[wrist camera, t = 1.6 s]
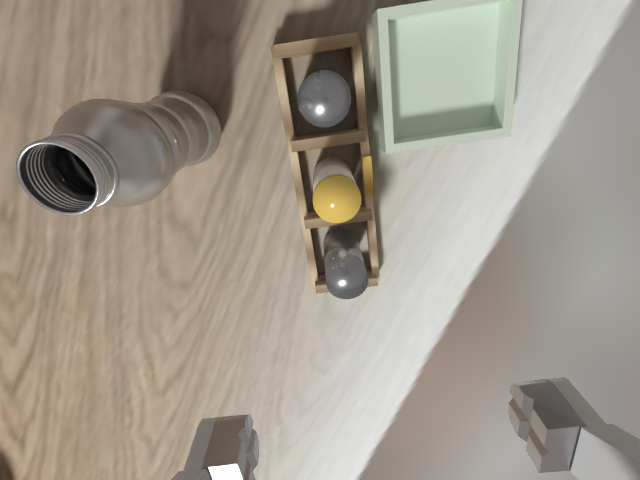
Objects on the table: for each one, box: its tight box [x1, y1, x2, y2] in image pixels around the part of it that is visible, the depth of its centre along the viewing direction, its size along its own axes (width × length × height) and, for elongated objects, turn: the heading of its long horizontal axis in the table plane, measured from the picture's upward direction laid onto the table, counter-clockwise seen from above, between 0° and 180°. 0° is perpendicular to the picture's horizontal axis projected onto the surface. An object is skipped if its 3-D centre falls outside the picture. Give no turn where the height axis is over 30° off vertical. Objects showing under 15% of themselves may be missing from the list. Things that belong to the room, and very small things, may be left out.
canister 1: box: [298, 70, 351, 127], centre depth 30 cm, size 4×4×8 cm
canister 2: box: [323, 228, 368, 299], centre depth 37 cm, size 4×4×8 cm
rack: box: [270, 32, 380, 293], centre depth 36 cm, size 25×8×2 cm, turn 8°
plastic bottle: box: [16, 91, 221, 215], centre depth 25 cm, size 6×7×20 cm
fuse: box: [313, 157, 361, 223], centre depth 33 cm, size 4×4×8 cm
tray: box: [371, 0, 523, 154], centre depth 32 cm, size 12×12×3 cm
